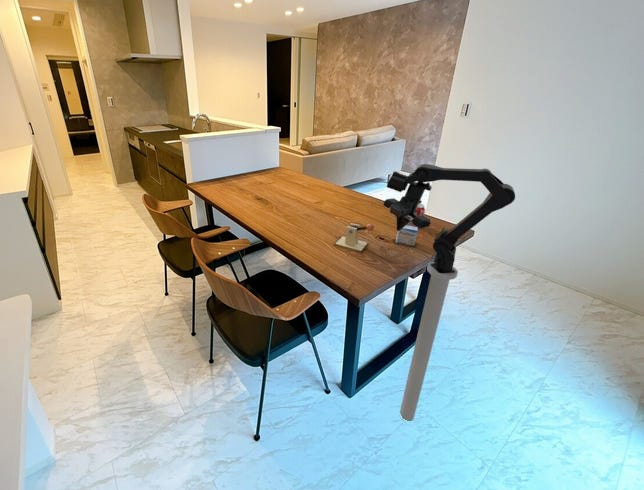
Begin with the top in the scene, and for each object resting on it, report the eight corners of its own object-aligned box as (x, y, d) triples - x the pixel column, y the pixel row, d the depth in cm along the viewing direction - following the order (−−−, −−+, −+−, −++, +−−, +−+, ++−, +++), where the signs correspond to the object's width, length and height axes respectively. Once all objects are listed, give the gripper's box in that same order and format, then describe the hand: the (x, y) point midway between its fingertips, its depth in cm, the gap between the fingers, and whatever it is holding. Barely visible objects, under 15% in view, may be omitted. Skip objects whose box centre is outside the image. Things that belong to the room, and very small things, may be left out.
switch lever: (375, 228, 128) (374, 222, 128) (373, 231, 126) (371, 224, 125) (352, 231, 135) (350, 225, 134) (349, 234, 132) (347, 227, 132)
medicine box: (395, 244, 136) (398, 227, 132) (395, 239, 140) (399, 223, 136) (414, 247, 133) (418, 230, 130) (414, 242, 137) (417, 226, 133)
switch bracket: (367, 244, 136) (369, 225, 132) (361, 253, 129) (363, 232, 125) (342, 238, 142) (344, 219, 138) (335, 245, 135) (336, 226, 132)
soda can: (420, 224, 156) (425, 203, 151) (421, 230, 150) (426, 208, 145) (405, 222, 158) (410, 201, 153) (406, 228, 152) (411, 207, 147)
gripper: (380, 187, 117) (368, 220, 124) (420, 210, 103) (403, 246, 111) (399, 185, 122) (386, 218, 130) (439, 207, 109) (421, 242, 116)
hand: (398, 230), depth 121 cm, fingers closed
